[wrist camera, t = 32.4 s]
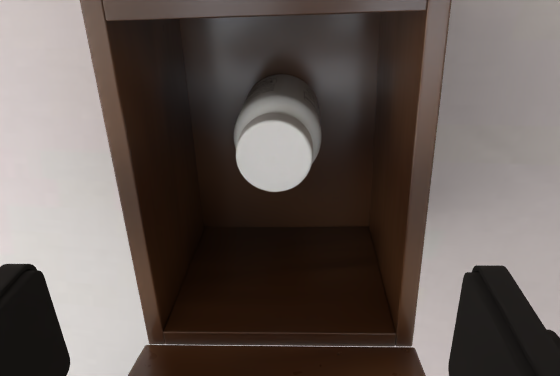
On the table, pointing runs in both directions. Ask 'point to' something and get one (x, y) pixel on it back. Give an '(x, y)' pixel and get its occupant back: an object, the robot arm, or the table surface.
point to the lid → (276, 361)
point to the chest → (264, 204)
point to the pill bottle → (278, 133)
